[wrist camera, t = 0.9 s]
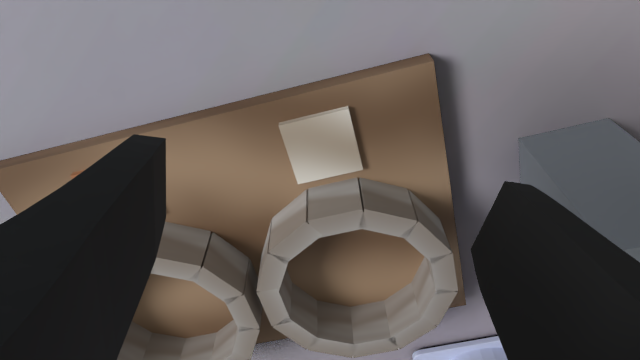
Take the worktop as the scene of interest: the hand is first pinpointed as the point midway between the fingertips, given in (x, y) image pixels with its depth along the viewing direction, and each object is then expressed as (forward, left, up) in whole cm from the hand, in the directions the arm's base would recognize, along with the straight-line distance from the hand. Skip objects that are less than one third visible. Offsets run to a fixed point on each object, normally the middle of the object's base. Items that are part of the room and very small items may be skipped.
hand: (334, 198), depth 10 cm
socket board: (-8, +6, -11) cm, 15 cm away
